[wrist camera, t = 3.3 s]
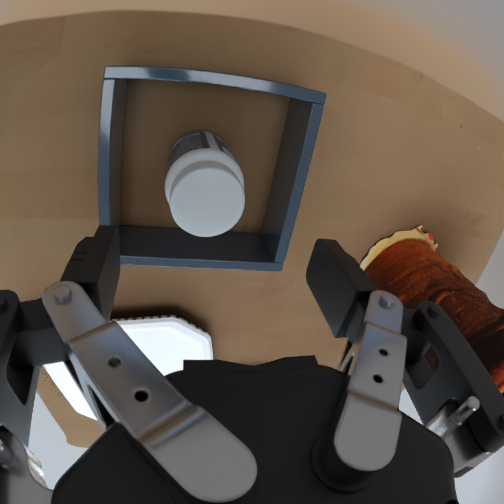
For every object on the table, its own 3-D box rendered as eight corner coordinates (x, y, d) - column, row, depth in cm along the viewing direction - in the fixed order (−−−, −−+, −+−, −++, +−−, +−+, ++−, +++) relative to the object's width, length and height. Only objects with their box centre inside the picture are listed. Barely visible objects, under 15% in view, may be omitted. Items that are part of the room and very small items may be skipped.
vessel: (459, 251, 35) (557, 357, 18) (392, 330, 40) (462, 446, 24) (404, 199, 29) (551, 337, 12) (321, 303, 34) (403, 467, 18)
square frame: (112, 233, 25) (101, 263, 21) (119, 66, 18) (104, 65, 14) (268, 242, 28) (281, 271, 25) (303, 88, 21) (327, 93, 18)
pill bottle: (164, 184, 24) (156, 238, 17) (174, 125, 21) (168, 154, 14) (223, 192, 25) (241, 248, 18) (237, 135, 23) (262, 169, 16)
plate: (206, 299, 31) (209, 315, 29) (218, 404, 42) (220, 417, 40) (23, 312, 27) (17, 326, 25) (85, 410, 38) (83, 422, 36)
